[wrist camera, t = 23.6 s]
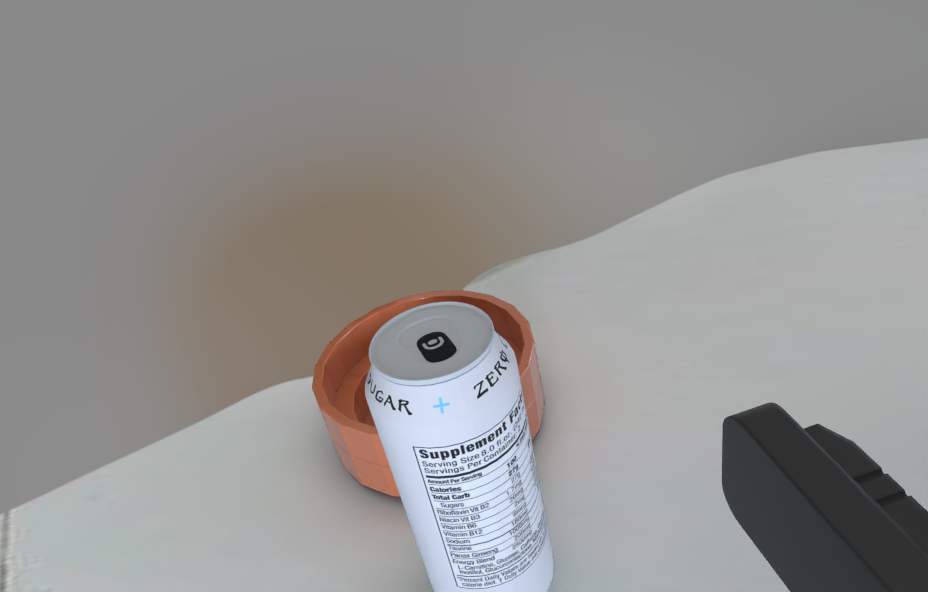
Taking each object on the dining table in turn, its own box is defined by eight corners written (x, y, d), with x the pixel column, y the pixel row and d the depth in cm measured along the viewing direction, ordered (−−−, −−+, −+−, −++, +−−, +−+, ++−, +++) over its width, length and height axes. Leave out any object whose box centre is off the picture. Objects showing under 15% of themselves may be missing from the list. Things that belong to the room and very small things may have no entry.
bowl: (526, 339, 50) (515, 274, 47) (564, 479, 39) (552, 406, 36) (345, 375, 50) (322, 313, 48) (331, 524, 39) (300, 456, 36)
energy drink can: (520, 509, 38) (469, 276, 30) (580, 598, 33) (539, 347, 25) (417, 561, 36) (335, 330, 28) (464, 661, 32) (380, 417, 23)
